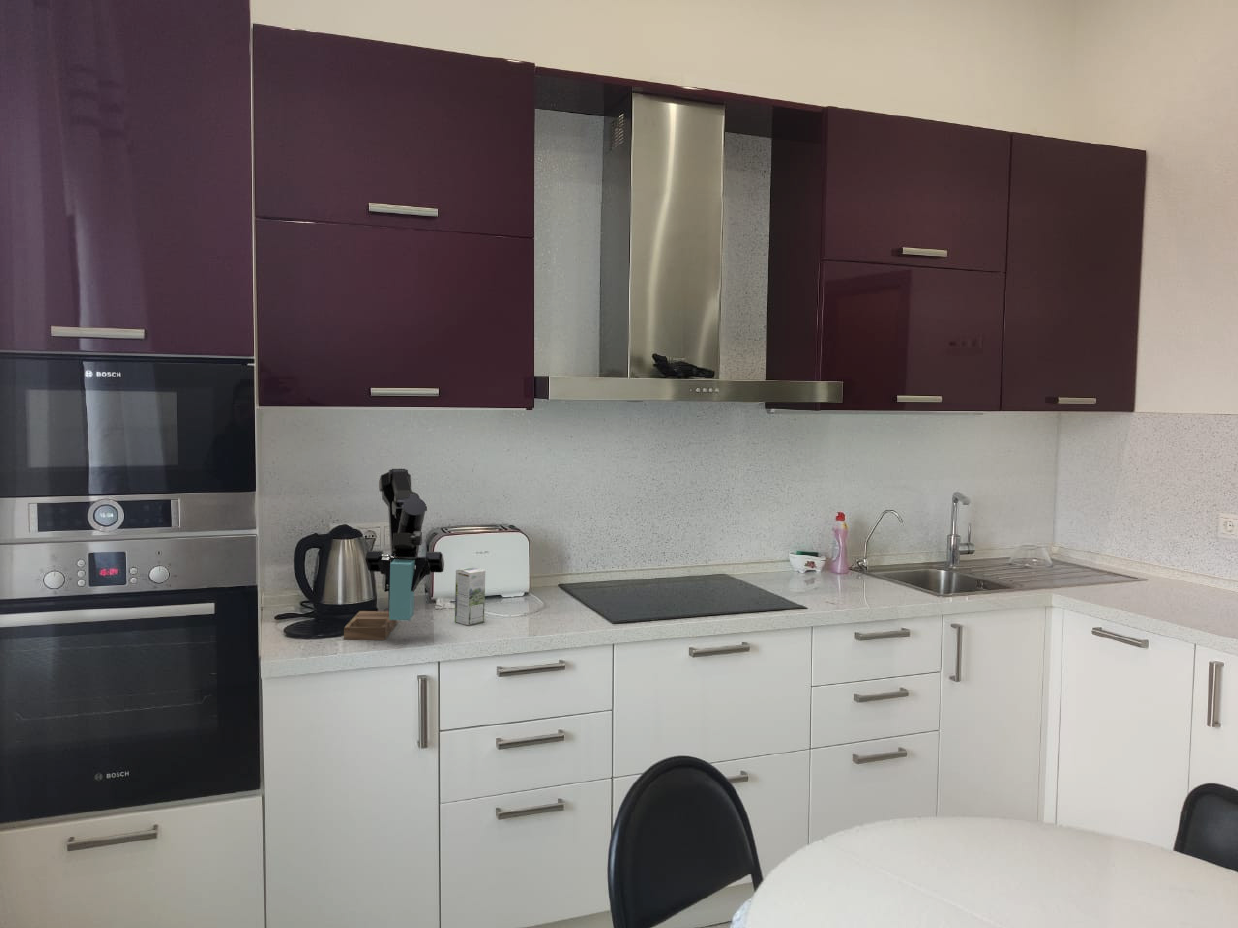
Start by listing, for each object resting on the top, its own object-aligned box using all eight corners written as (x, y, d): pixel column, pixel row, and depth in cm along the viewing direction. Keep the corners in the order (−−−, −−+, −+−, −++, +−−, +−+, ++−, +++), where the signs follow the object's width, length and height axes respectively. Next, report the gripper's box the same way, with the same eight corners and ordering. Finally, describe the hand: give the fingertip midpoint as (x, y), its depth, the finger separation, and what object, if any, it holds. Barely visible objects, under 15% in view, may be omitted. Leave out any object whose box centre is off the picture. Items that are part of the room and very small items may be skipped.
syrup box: (470, 618, 254) (470, 566, 253) (485, 622, 250) (485, 569, 249) (454, 622, 250) (454, 569, 248) (469, 626, 246) (469, 572, 245)
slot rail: (359, 622, 248) (359, 611, 247) (397, 622, 248) (397, 611, 248) (344, 639, 231) (344, 627, 230) (384, 639, 231) (384, 627, 231)
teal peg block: (393, 613, 232) (394, 559, 230) (413, 614, 232) (414, 559, 230) (389, 619, 227) (390, 563, 225) (409, 620, 227) (411, 564, 225)
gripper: (366, 518, 230) (357, 571, 220) (442, 520, 231) (436, 572, 221) (373, 544, 239) (364, 596, 229) (446, 545, 240) (440, 597, 230)
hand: (401, 590), depth 227 cm, fingers closed on teal peg block, 5 cm apart
